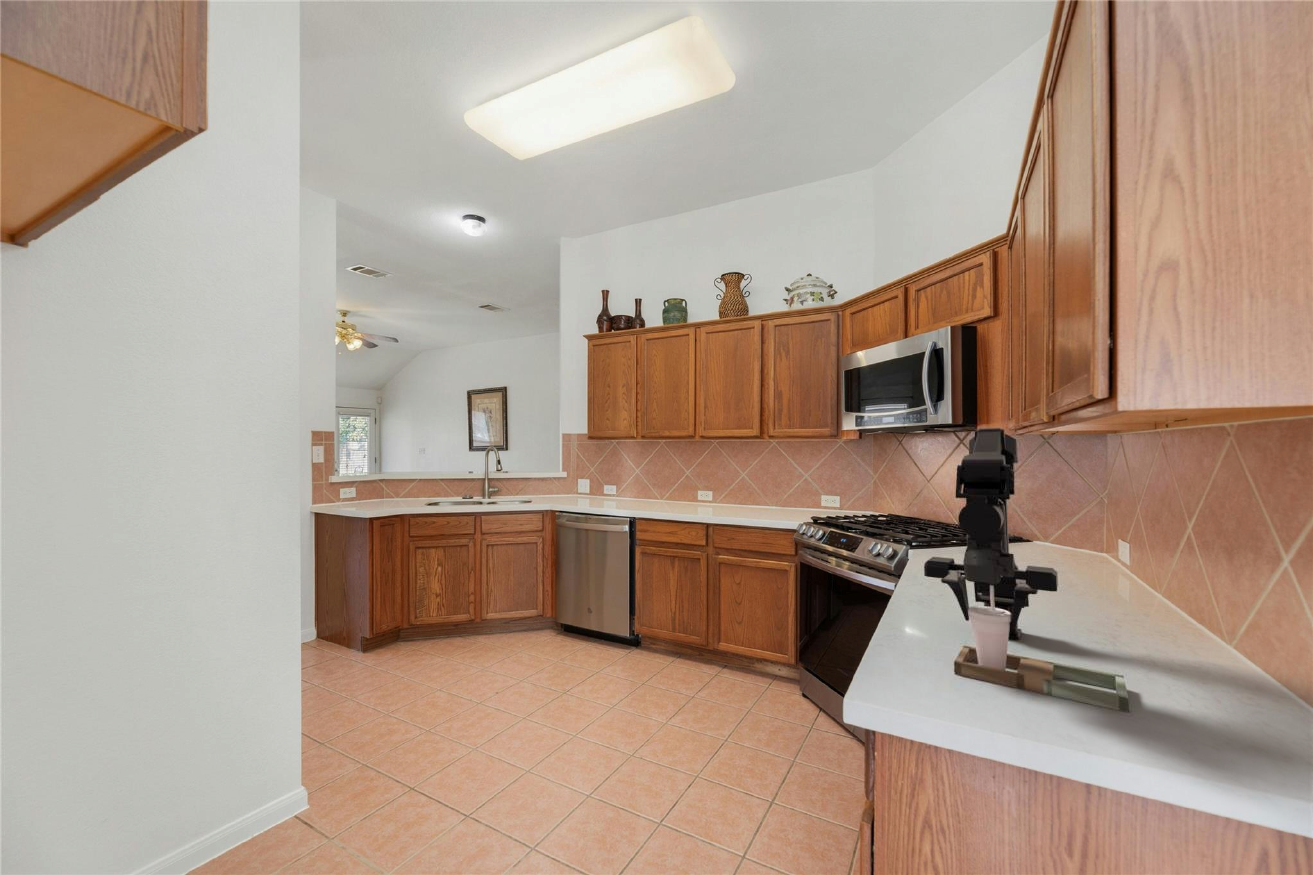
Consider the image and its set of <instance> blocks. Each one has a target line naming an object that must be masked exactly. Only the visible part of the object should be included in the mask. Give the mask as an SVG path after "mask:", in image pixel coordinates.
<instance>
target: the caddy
mask: <svg viewBox="0 0 1313 875" xmlns="http://www.w3.org/2000/svg"><path fill="white" fill-rule="evenodd" d="M970 661H974V662H978V657H977V652H976V647H973V646H967V645H963V646H962V648H961V649H960V651H959V652H958V655H957V656H956V658H955V659H954V661H953V666H954V667H953V668H954V670H953V672H954V673H953V674H954V675H958V676H961V677H962V676H963V677H967V678H971V679H972V678H973V679H976V680H979V681H980V680H981V681H985V682H990V683H993V684H994V683H995V684H998V685H1003V686H1006V687H1007V686H1008V687H1012V688H1017V689H1021V690H1026V691H1030V692H1033V693H1039V694H1044V695H1047V696H1053V697H1057V698H1061V699H1066V700H1071V701H1075V702H1080V703H1084V704H1089V705H1093V706H1097V707H1103V708H1107V709H1111V710H1116V711H1121V712H1125V713H1130V707H1129V706H1130V704H1129V696H1128V690H1127V685H1126V681H1125V676H1124V675H1123V674H1122V675H1121V674H1116V673H1110V672H1105V671H1100V670H1096V669H1091V668H1084V667H1080V666H1074V665H1068V664H1063V663H1060V662H1059V663H1058V662H1053V661H1049V660H1048V661H1047V660H1042V659H1037V658H1032V657H1026V656H1022V655H1016V654H1011V653H1007V658H1006V668H1009V669H1013V670H1017V672H1016V671H1010V670H1006V669H1005V670H1001V669H997V668H992V667H987V666H982V665H979V664H976V663H971V662H970ZM1055 678H1058V679H1062V680H1068V681H1074V682H1078V683H1084V684H1089V685H1093V686H1098V687H1103V688H1108V689H1112V690H1113V689H1114V690H1115V691H1116V692H1114V691H1113V692H1112V691H1108V690H1102V689H1097V688H1093V687H1088V686H1084V685H1079V684H1074V683H1069V682H1064V681H1059V680H1055Z"/></svg>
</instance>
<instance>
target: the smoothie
mask: <svg viewBox="0 0 1313 875" xmlns="http://www.w3.org/2000/svg"><path fill="white" fill-rule="evenodd" d="M990 600H991V607H986V606H984V605H977V606H976V605H975V606H969V608H968V615H969V619H970V623H971V629H972V634H973V640H974V645H975V648H976V652H977V657H978V661H977V663H978V665H982V666H987V667H992V668H997V669H1001V670H1006V668H1007V667H1006V658H1007V654H1008V646H1009V638H1008V637H1009V627H1010V622H1011V621H1012V614H1011V613H1010V612H1008V611H1006V610H1003V609H999V608H995V603H994V586H993V585H990Z"/></svg>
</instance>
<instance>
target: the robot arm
mask: <svg viewBox="0 0 1313 875" xmlns="http://www.w3.org/2000/svg"><path fill="white" fill-rule="evenodd" d="M1005 430H1006V429H1005V428H1000V427H992V428H990V427H989V428H987V427H986V428H978V429H975V430H974V436H973V437H972V438H971V439H969V441H968V454H966V455H964V456H963V457H962V459H961V463H960V464H958V465H957V466H956V478H955V479H956V480H955V481H956V482H955V499H965V502H966V503H965V506H962V508H961V510H960V512H959V513H958V514H959V515H958V518H957V519H958V524H959V526H960V528H961V530H962V531H963V532H964V533H965V534H966V549H965V551H964V555H963V556H964V557H963V561H962V562H963V564H962V563H961V564H960V563H955V559H954V558H951V557H942V556H940V557H939V556H932V557H931V558H928V559H927V560H926V561H925V562H924V565H923V570H924V571H923V572H924V577H927V578H935V579H940V582H941V583H942V584H946V585H947V586H948V587H949V588H950V590H952V592H953V595H954V597H955V598H956V600H957V602H958V605H959V608H960V610H961V612H962V615H963V617H964V619H965V621H968V622H969V621H970V616H969V615H968V608H970V605H969V598H968V597H969V596H968V589H967V582H971V583H973V588H974V590H973V591H974V600H975V603H983V606H986V607H991V600H990V585H993V586H994V603H995V608H999V609H1003V610H1006V611H1008V612H1010V613H1011V614H1012V621H1011V622H1010V627H1009V637H1008V639H1012V640H1020V638H1021V635H1022V633H1023V631H1022V630H1023V629H1022V628H1019V625H1018V624H1019V622H1018V621H1019V618H1020V615H1021V612H1022V609H1024V608H1028V607H1029V606H1030V603H1029V602H1030V601H1029V595H1038V591H1046V592H1052V593H1053V592H1058V589H1059V580H1058V579H1059V578H1058V571H1057V570H1055V568H1054V567H1047V566H1043V567H1042V566H1035V565H1026V566H1027V567H1026V568H1025V570H1021V569H1019V566H1018V565H1017V564H1016V562H1015V556H1014V553H1010V543H1009V541H1010V540H1009V538H1010V537H1009V520H1008V519H1009V518H1008V517H1009V516H1008V500H1011V495H1012V496H1014V495H1016V494H1015V493H1016V492H1015V487H1016V486H1015V482H1016V481H1015V479H1016V478H1015V477H1016V476H1015V468H1016V467H1015V464H1019V451H1018V449H1019V448H1018V443H1017V442H1018V441H1017V439H1016V438H1015V437H1012V436H1010V435H1009V434H1006V431H1005ZM966 581H967V582H966Z"/></svg>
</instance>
